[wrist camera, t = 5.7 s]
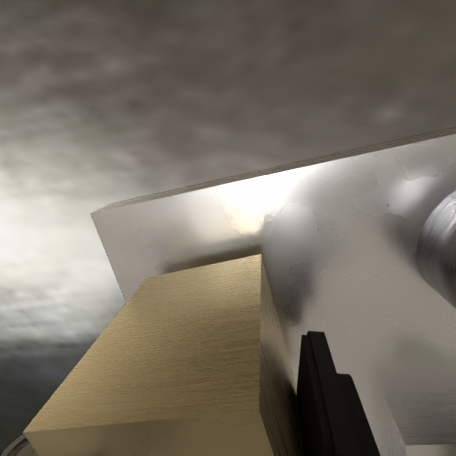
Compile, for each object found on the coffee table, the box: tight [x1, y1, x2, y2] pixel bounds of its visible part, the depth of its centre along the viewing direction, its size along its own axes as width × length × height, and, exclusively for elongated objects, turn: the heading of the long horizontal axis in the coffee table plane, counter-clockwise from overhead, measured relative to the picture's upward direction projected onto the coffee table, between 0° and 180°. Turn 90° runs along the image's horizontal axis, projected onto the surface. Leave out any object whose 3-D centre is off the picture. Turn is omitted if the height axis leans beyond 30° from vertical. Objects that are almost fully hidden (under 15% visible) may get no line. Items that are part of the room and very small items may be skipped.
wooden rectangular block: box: [23, 254, 304, 456], centre depth 9 cm, size 10×4×7 cm, turn 16°
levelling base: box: [90, 127, 456, 456], centre depth 12 cm, size 17×24×6 cm
